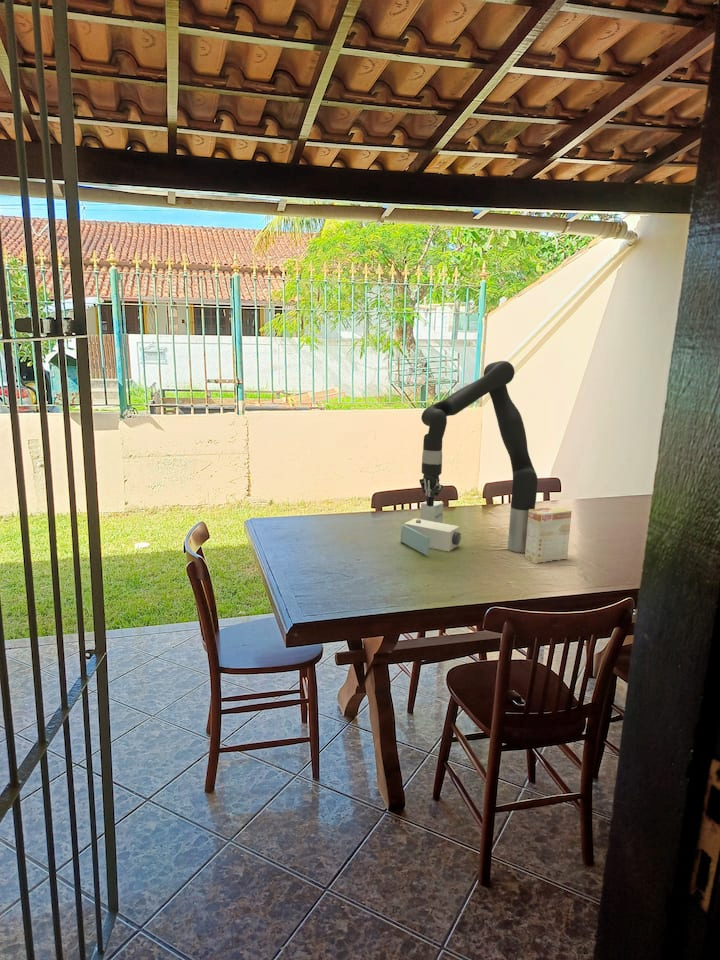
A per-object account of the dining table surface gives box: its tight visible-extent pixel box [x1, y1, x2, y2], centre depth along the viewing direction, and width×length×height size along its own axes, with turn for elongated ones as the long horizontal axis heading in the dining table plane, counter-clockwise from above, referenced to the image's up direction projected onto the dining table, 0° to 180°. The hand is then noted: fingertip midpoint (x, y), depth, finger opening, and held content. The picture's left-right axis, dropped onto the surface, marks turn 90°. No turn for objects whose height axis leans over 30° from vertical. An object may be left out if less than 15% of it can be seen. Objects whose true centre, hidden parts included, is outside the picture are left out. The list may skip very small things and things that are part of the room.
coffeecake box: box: [524, 505, 573, 564], centre depth 236 cm, size 15×7×20 cm, turn 111°
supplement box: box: [419, 500, 444, 523], centre depth 270 cm, size 7×7×13 cm
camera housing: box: [403, 517, 462, 553], centre depth 252 cm, size 22×9×9 cm, turn 58°
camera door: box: [400, 523, 430, 556], centre depth 245 cm, size 19×1×7 cm, turn 28°
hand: (429, 505), depth 238 cm, fingers closed
